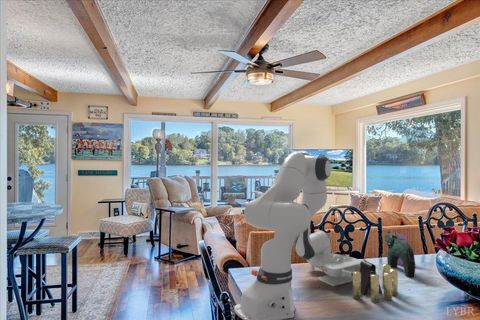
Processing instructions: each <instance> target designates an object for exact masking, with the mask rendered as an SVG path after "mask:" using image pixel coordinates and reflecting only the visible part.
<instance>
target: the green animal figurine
mask: <svg viewBox="0 0 480 320" xmlns="http://www.w3.org/2000/svg"><path fill="white" fill-rule="evenodd" d="M395 232H397V233H392V232H390V231H389V230H387V233H386V234H385V236H384V243H385V245H386V246H388V248H387V257H386V258H387V259H386V260H387V264H389V265H390V268H392V269H395V268H398V265H397V262H398V259H399V258H401V260H402V261H403V265H402V266H403V269H404V274H405V277H406V278H415V273H416V260H415V253H414V250H413V247H412V245H411V244H410V243H409V241H408V240H407V241H406V240H405V239H399V236H398V235H397V234H398V233H400V230H399V229H395Z"/></svg>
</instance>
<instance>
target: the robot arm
mask: <svg viewBox="0 0 480 320" xmlns="http://www.w3.org/2000/svg"><path fill="white" fill-rule="evenodd" d="M279 167H280V168H279V169H278V172H277V174H276V177H275V178H274V180H273V183H272V185H270V186H269V188H268V189H267V190H266V191H265V192H264V193H263V194H261V195H260V196H258V197H257V198H255V199H252V200H250V201H248V202H247V204H246V205H245V208H244V211H243V216H244V219H245V222H246V224H248V225H249V226H251V227H254V228H257V229H259V230H260V229H261V230H269V231H274V235H273V238H271V239H269V240H267V241H265V242H264V243H263V244H262V246H261V247H260V267H259V269H258V270H256V269H254V268H253V269H252V270H251V272H250V273H251V276H254V277H256V279H255V280H253V282H252V283H251V284H250V285H249V286H248V287H247V288H246V289H245V290H243V291H242V293H241V297H240V303H238V304H236V305H234V307H233V311H234V313H235V314H236V315H237V316H238V317H239V318H240V319H242V320H287V319H292V318H294V317H295V313H294V312H295V310H296V304H295V302H294V296H293V290H292V289H293V287H292V281H293V269H292V253H293V252H292V251H293V247H294V250H295V253H296V254H297V256H298V257H300V259H303V260H306V262H307V263H308V264H310V265H311V266H312V267H315V268H316V269H320V270H321V271H324V274H326V275H330V276H332V277H339V276H349V277H352V276H353V271H360V263H361V261H362V260H361V259H359V258H355V257H352V256H350V254H349V255H348V254H338V253H333V252H332V239H331V237H330V235H329V234H328V233H327V232H325V231H324V230H318V231H315V232H313V233H310V232H311V222H312V219H313V217H314V216H315V215H316V214H317V213H318V212H320V210H321V209H323V208H324V206H325V205H326V203H327V200H328V199H327V198H328V190H327V183H326V180H327V179H328V178H329V177H330V176H331V172H332V164H331V161H330V160H329V158H328V157H327V156H324V155H307V154H306V155H304V154H303V153H301V152H292V153H290V154H288V155H287V157H284V159H283V160H282V161H281V165H280V166H279ZM301 193H302V198H301V203H300V202H299V203H298V202H296V201H295V200H297V199H298V198H299V196H300V195H301ZM294 201H295V202H294Z"/></svg>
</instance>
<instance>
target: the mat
mask: <svg viewBox="0 0 480 320" xmlns="http://www.w3.org/2000/svg"><path fill="white" fill-rule="evenodd" d="M316 280H319V281H321V282H323V283H325V284H328V285H329V286H332V287H335V286H339V285H343V284H348V283H350V282H353V276H352V277H349V276H339V277H332V276H330V275H328V274H326V275H322V276H318V277H316Z"/></svg>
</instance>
